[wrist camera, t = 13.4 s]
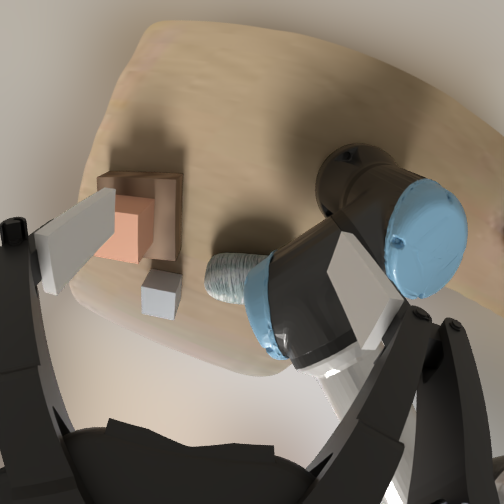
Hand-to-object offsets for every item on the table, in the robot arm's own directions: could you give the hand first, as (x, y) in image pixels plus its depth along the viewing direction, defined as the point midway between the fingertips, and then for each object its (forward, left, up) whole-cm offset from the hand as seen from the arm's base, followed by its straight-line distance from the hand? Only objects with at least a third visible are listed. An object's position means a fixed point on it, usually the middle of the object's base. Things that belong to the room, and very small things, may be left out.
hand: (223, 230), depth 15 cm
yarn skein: (-5, +18, -29) cm, 34 cm away
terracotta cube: (+14, +11, -24) cm, 30 cm away
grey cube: (+9, +25, -29) cm, 39 cm away
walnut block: (+14, +11, -29) cm, 34 cm away
